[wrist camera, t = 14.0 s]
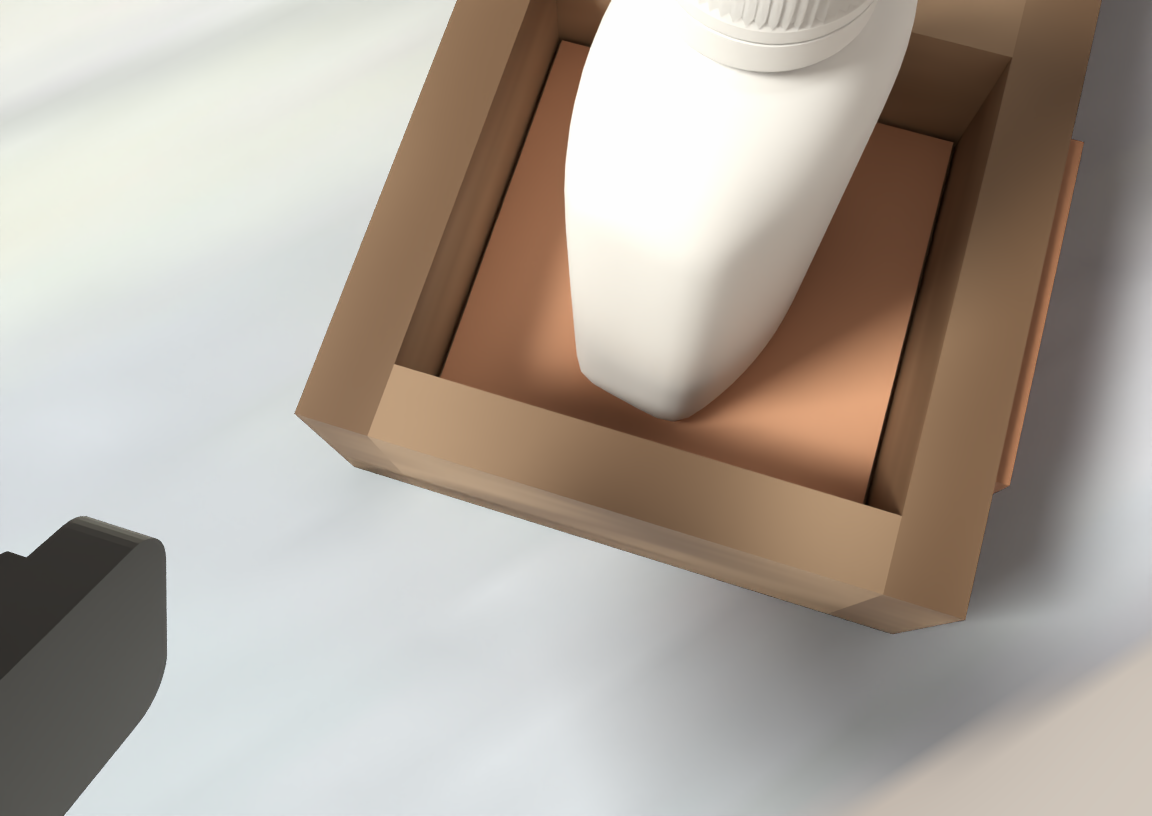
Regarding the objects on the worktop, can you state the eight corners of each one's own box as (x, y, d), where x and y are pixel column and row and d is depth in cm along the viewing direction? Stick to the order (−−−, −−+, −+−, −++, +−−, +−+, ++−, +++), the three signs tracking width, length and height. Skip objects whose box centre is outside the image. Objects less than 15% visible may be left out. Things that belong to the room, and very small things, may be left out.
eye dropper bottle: (506, 261, 20) (362, -350, 8) (759, 118, 20) (959, -639, 9) (630, 457, 19) (666, 75, 7) (892, 300, 19) (1318, -286, 8)
